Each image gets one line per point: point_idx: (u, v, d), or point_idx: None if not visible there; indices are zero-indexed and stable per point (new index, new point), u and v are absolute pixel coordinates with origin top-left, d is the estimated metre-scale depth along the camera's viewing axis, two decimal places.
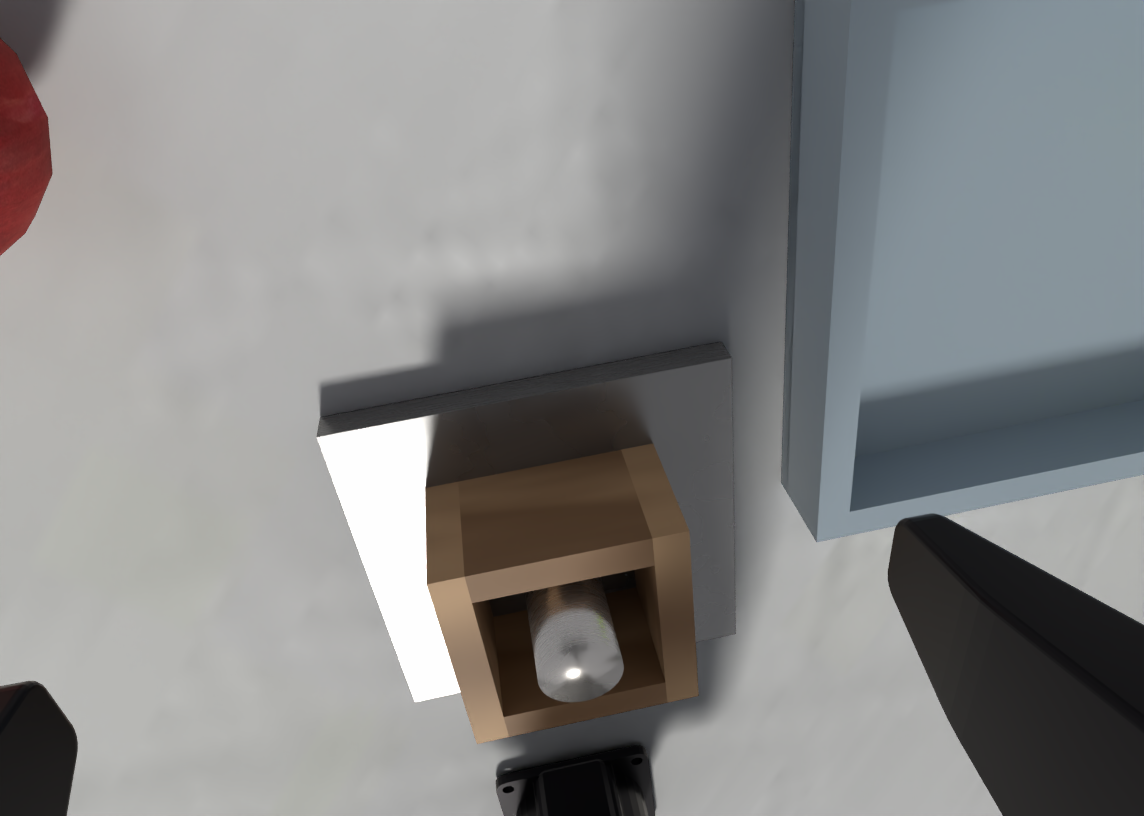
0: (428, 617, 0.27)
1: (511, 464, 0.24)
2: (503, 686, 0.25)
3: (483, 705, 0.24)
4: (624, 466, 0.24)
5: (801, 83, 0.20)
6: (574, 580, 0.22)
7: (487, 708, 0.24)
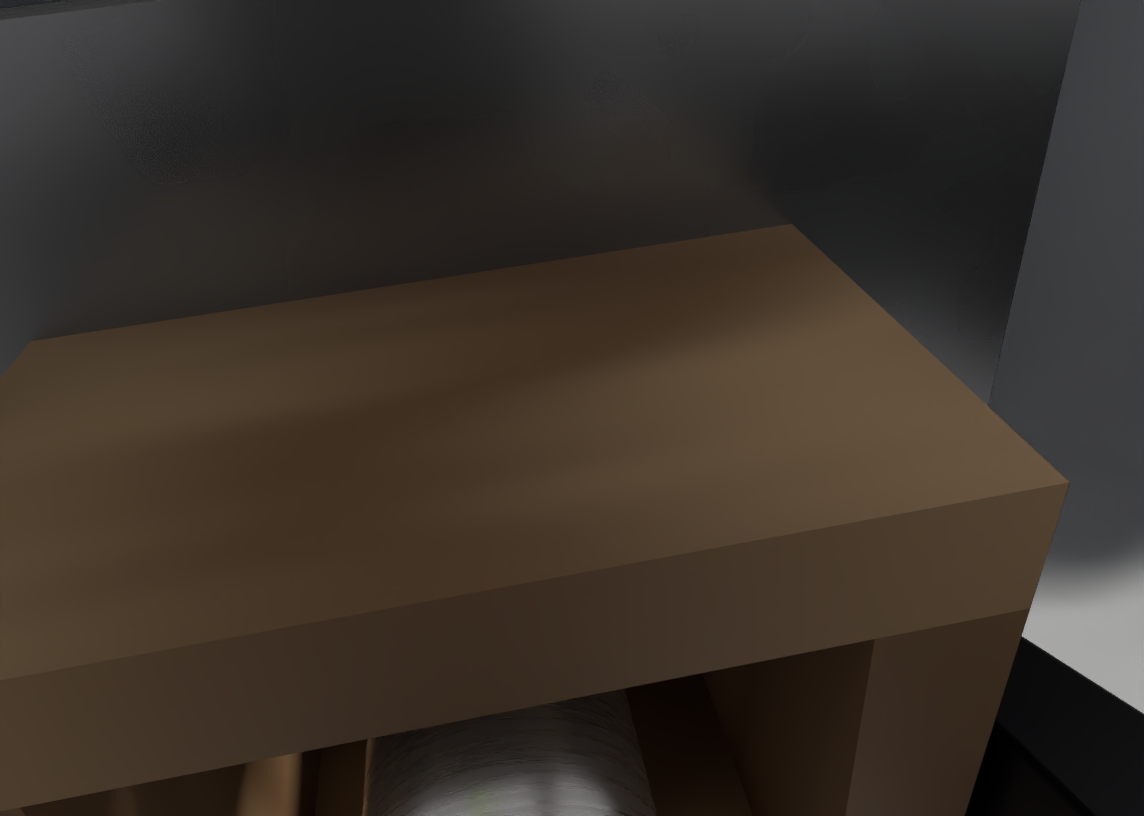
0: None
1: None
2: None
3: None
4: None
5: None
6: None
7: None
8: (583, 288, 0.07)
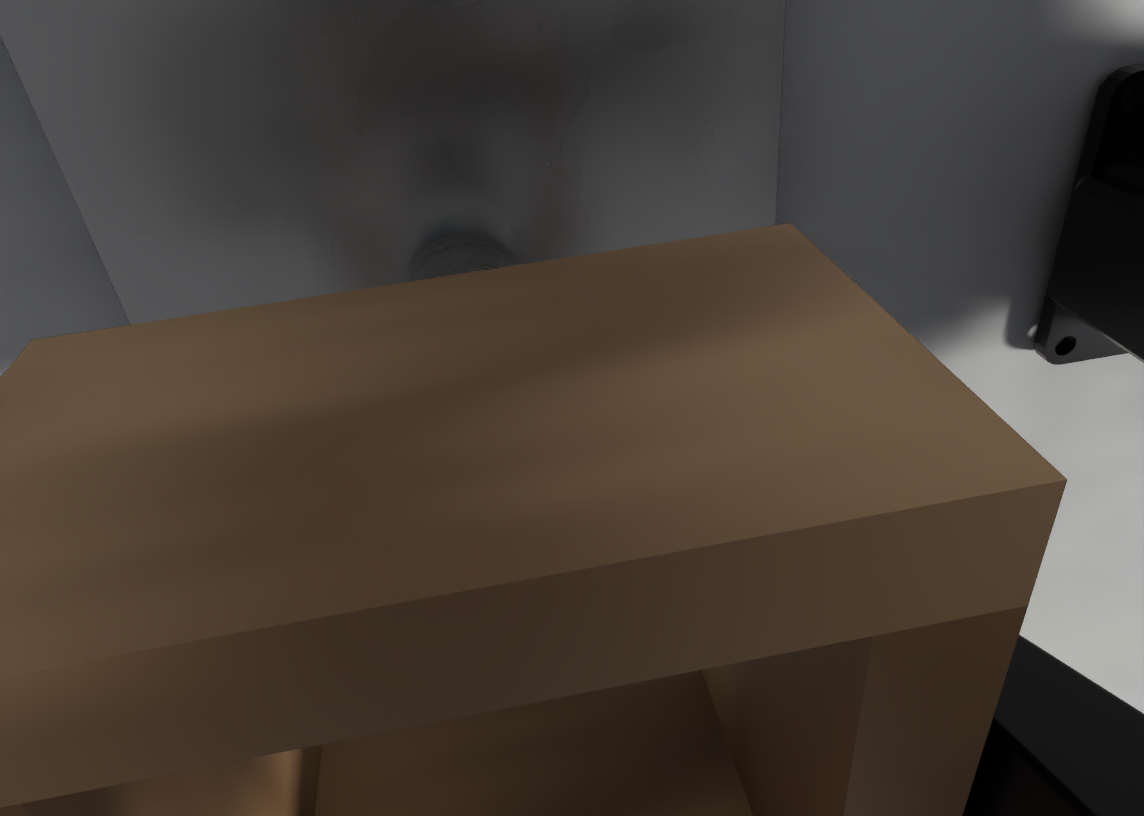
0: None
1: None
2: None
3: None
4: None
5: None
6: None
7: None
8: (583, 286, 0.07)
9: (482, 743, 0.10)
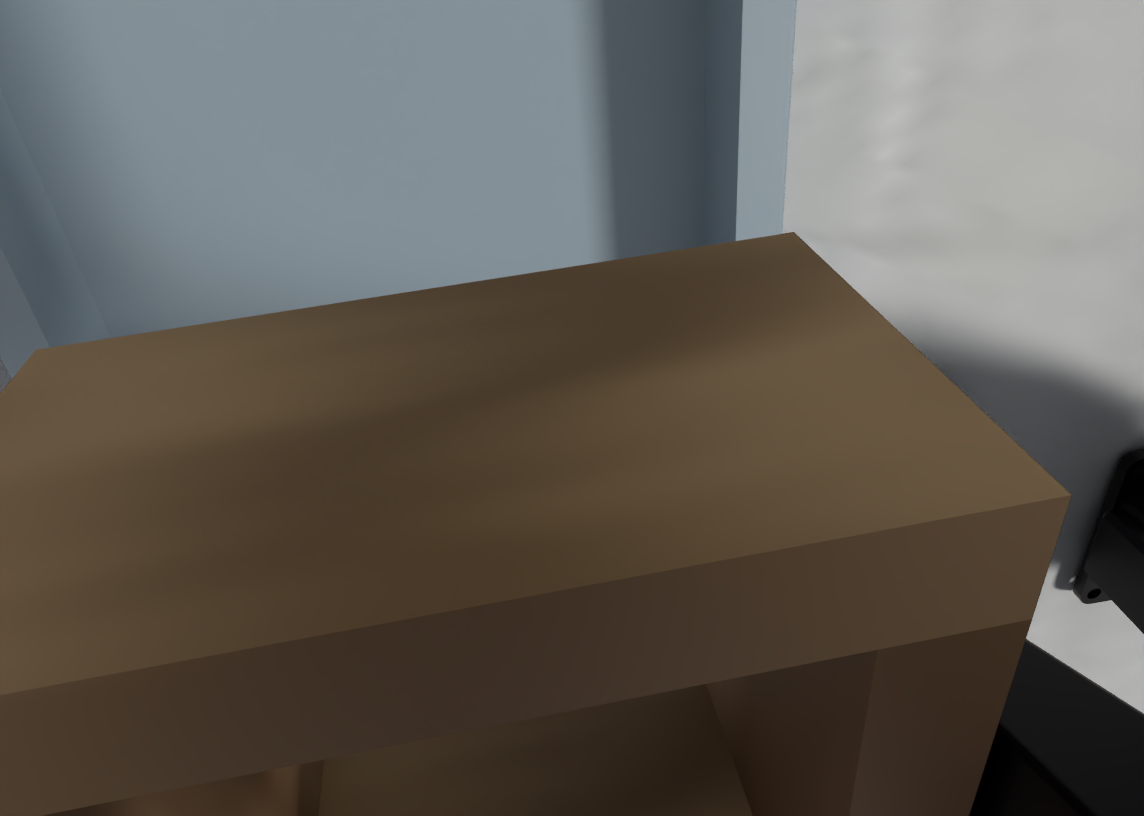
0: None
1: None
2: None
3: None
4: None
5: None
6: None
7: None
8: (587, 297, 0.07)
9: (484, 750, 0.10)
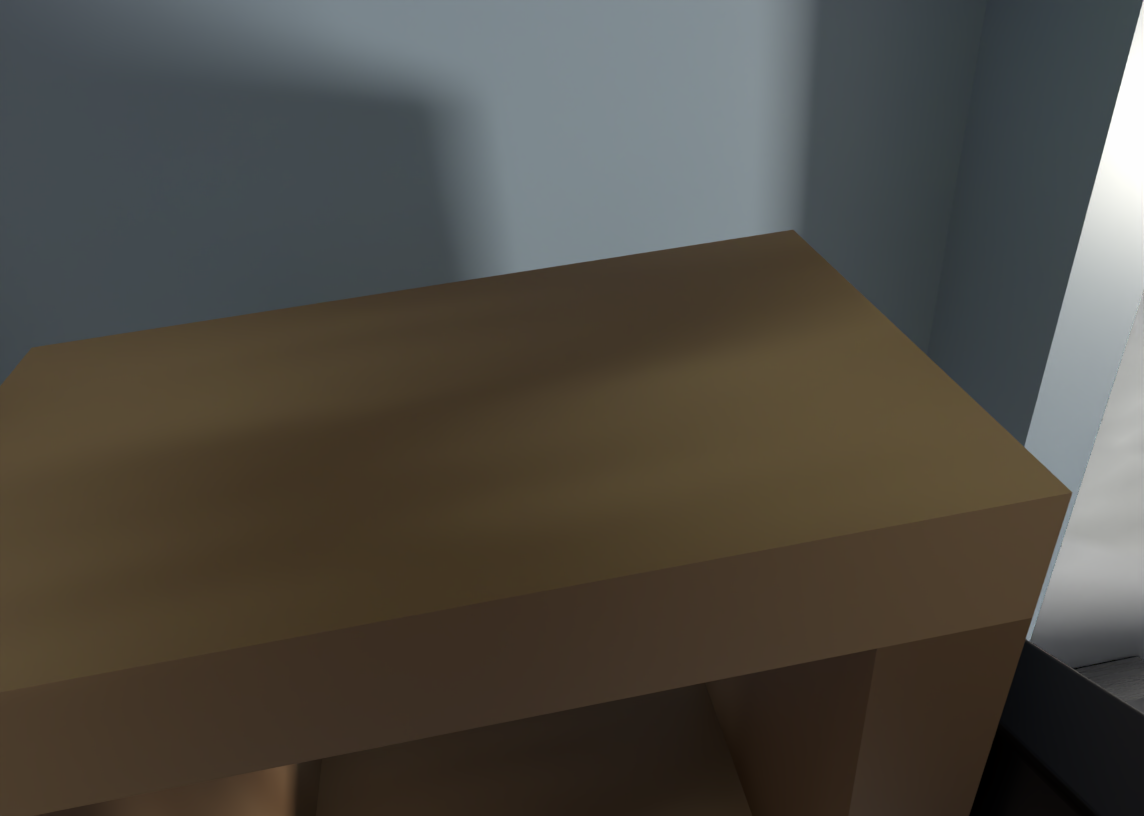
0: None
1: None
2: None
3: None
4: None
5: None
6: None
7: None
8: (585, 295, 0.07)
9: (483, 749, 0.10)
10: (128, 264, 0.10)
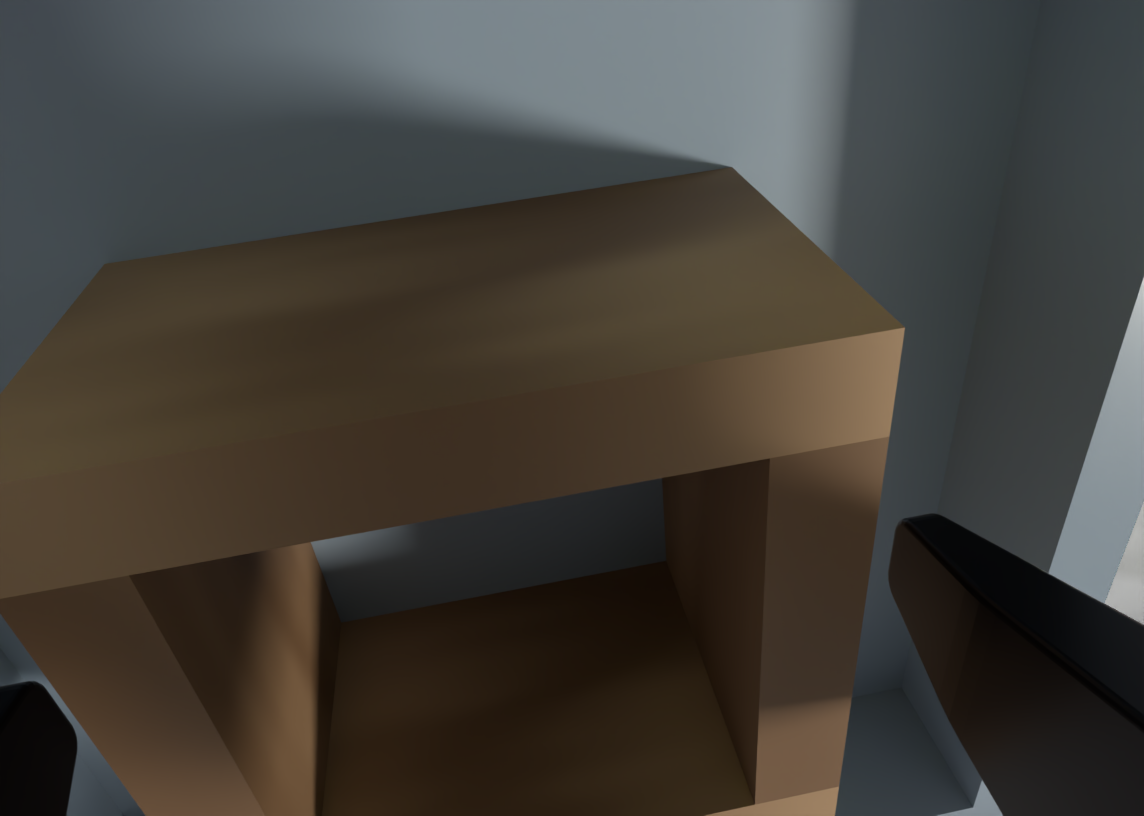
0: None
1: None
2: (725, 717, 0.10)
3: None
4: None
5: None
6: (219, 750, 0.07)
7: None
8: (556, 216, 0.09)
9: (479, 631, 0.12)
10: None
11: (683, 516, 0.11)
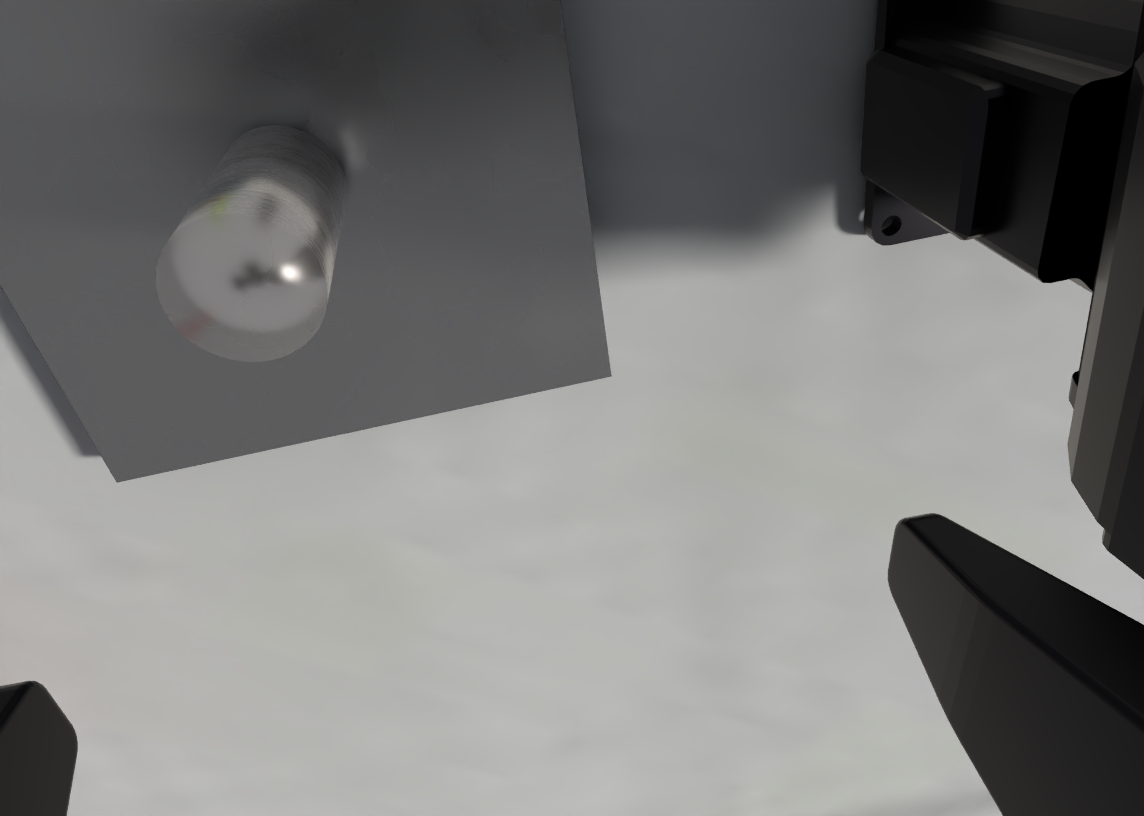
0: (432, 362, 0.19)
1: (114, 263, 0.17)
2: None
3: None
4: None
5: None
6: None
7: None
8: None
9: None
10: None
11: None
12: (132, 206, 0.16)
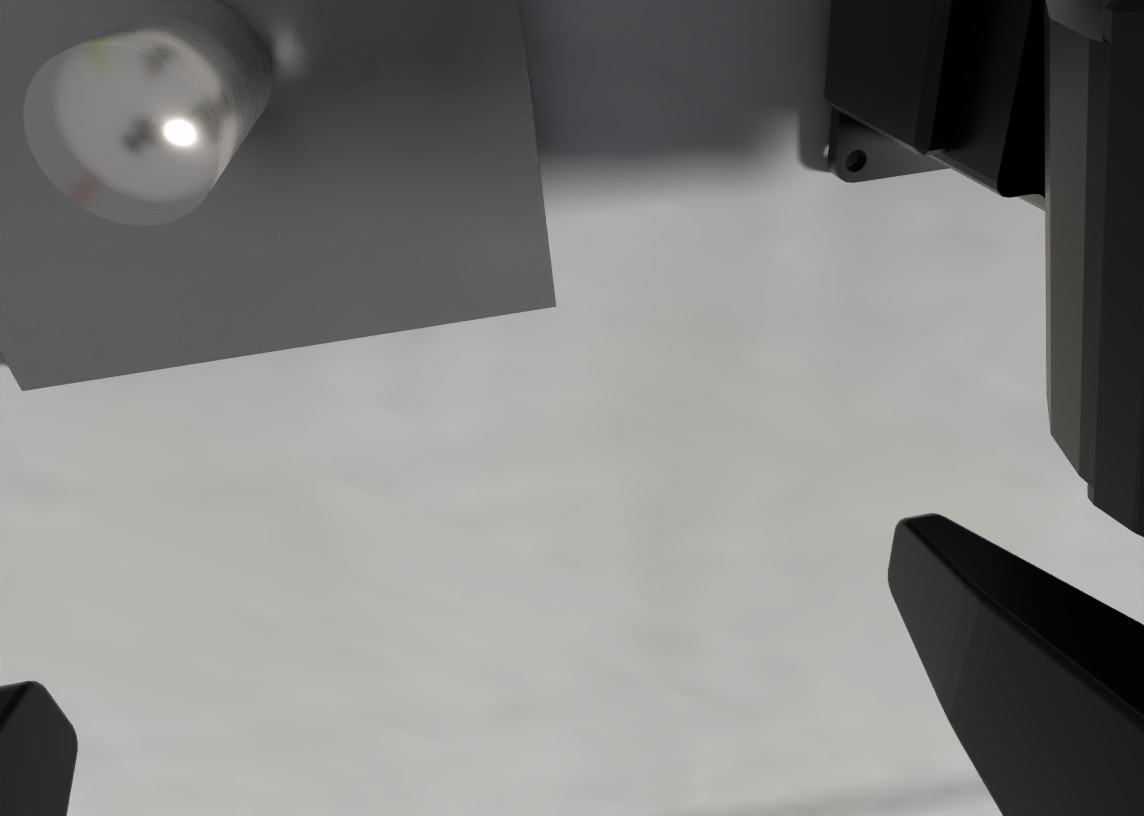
0: (364, 278, 0.18)
1: (17, 142, 0.15)
2: None
3: None
4: None
5: None
6: None
7: None
8: None
9: None
10: None
11: None
12: None
